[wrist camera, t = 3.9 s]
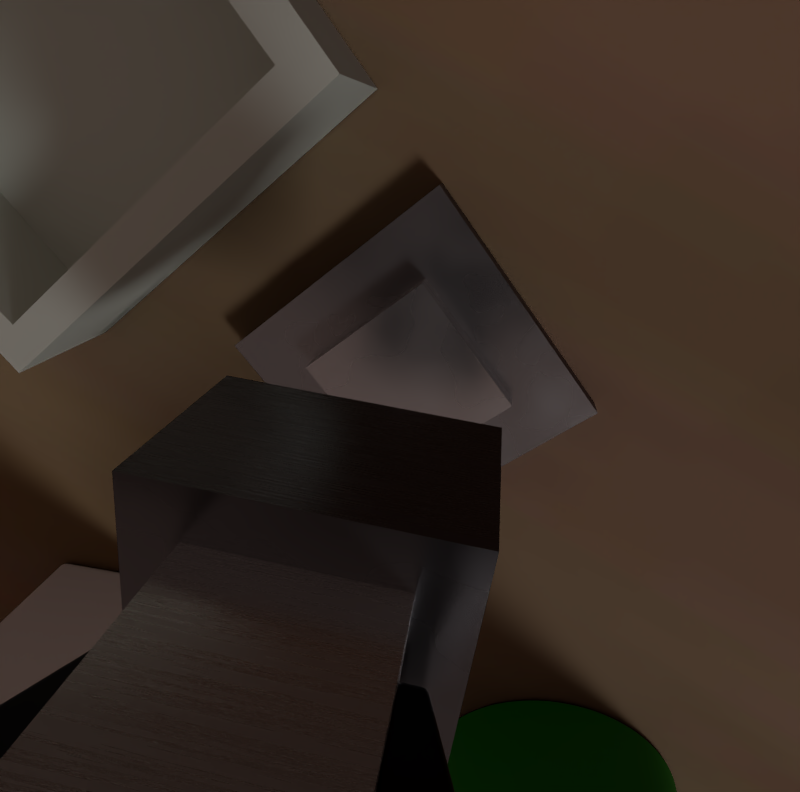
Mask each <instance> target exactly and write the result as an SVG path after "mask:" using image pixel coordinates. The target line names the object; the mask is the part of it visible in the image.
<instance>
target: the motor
mask: <svg viewBox="0 0 800 792" xmlns="http://www.w3.org/2000/svg"><path fill="white" fill-rule="evenodd" d="M448 768H449V772H450V776H451V779H452V783H453V787H454V791H455V792H677V791H676V787H675V783H674V779H673V776H672V774H671V771H670V770H669V768H668V766H667V764H666V762H665V761H664V759H663V758H662V757H661V755H660V754H659V753H658V752H657V751H656V749H655V748H654V747H653V746H652V745H651V744H650V743H649V742H648V741H646V740H645V739H644V738H643V737H642V736H640V735H639V734H638V733H636V732H635V731H633V730H632V729H630V728H629V727H627V726H625V725H624V724H622V723H620V722H618V721H616V720H614V719H612V718H610V717H608V716H606V715H603V714H601V713H598V712H595V711H592V710H589V709H586V708H582V707H579V706H575V705H570V704H565V703H559V702H550V701H513V702H505V703H500V704H495V705H491V706H487V707H484V708H481V709H478V710H475V711H473V712H471V713H469V714H466V715H464V716H463V717H461V718H459V719H458V723H457V727H456V731H455V736H454V740H453V744H452V748H451V752H450V756H449V760H448Z"/></svg>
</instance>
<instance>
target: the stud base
mask: <svg viewBox="0 0 800 792" xmlns="http://www.w3.org/2000/svg"><path fill="white" fill-rule="evenodd" d="M235 347H236V348H237V349H238V350H239V351H240V353H241V354H242V355H243V356H244V357H245V359H246V360H247V361H248V362H249V363H250V365H251V366H252V367H253V368H254V369H255V371H256V372H257V373H258V374H259V375H260V377H261V378H262V379H263V380H264V381H265V383H269V384H274V385H279V386H285V387H290V388H295V389H300V390H306V391H311V392H316V393H322V394H327V395H332V396H337V397H343V398H348V399H353V400H359V401H364V402H369V403H374V404H380V405H385V406H390V407H396V408H401V409H406V410H411V411H417V412H422V413H427V414H433V415H438V416H443V417H449V418H454V419H459V420H464V421H470V422H475V423H480V424H486V425H491V426H496V427H501V428H502V447H501V466H503V465H505V464H507V463H509V462H510V461H512V460H514V459H516V458H517V457H519V456H521V455H523V454H525V453H526V452H528V451H530V450H532V449H534V448H535V447H537V446H539V445H541V444H543V443H544V442H546V441H548V440H550V439H552V438H553V437H555V436H557V435H559V434H561V433H562V432H564V431H566V430H568V429H570V428H571V427H573V426H575V425H577V424H579V423H580V422H582V421H584V420H586V419H588V418H589V417H591V416H593V415H595V414H597V410H596V407H595V404H594V402H593V400H592V399H591V397H590V396H589V394H588V393H587V391H586V390H585V389H584V387H583V386H582V384H581V383H580V381H579V380H578V378H577V377H576V376H575V374H574V373H573V371H572V370H571V368H570V367H569V365H568V364H567V362H566V361H565V360H564V358H563V357H562V355H561V354H560V352H559V351H558V349H557V348H556V347H555V345H554V344H553V342H552V341H551V339H550V338H549V336H548V335H547V334H546V332H545V331H544V329H543V328H542V326H541V325H540V323H539V322H538V320H537V319H536V318H535V316H534V315H533V313H532V312H531V310H530V309H529V307H528V306H527V305H526V303H525V302H524V300H523V299H522V297H521V296H520V294H519V293H518V292H517V290H516V289H515V287H514V286H513V284H512V283H511V281H510V280H509V279H508V277H507V276H506V274H505V273H504V271H503V270H502V268H501V267H500V265H499V264H498V263H497V261H496V260H495V258H494V257H493V255H492V254H491V252H490V251H489V250H488V248H487V247H486V245H485V244H484V242H483V241H482V239H481V238H480V237H479V235H478V234H477V232H476V231H475V229H474V228H473V226H472V225H471V223H470V222H469V221H468V219H467V218H466V216H465V215H464V213H463V212H462V210H461V209H460V208H459V206H458V205H457V203H456V202H455V200H454V199H453V197H452V196H451V195H450V193H449V192H448V190H447V189H446V187H445V186H444V184H443V183H442V184H440V185H439V186H437V187H436V188H435V189H433V190H432V191H431V192H430V193H428V194H427V195H426V196H425V197H423V198H422V199H421V200H419V201H418V202H417V203H416V204H414V205H413V206H412V207H411V208H409V209H408V210H407V211H405V212H404V213H403V214H402V215H400V216H399V217H398V218H397V219H395V220H394V221H393V222H391V223H390V224H389V225H388V226H386V227H385V228H384V229H383V230H381V231H380V232H379V233H377V234H376V235H375V236H374V237H372V238H371V239H370V240H369V241H367V242H366V243H365V244H363V245H362V246H361V247H360V248H358V249H357V250H356V251H355V252H353V253H352V254H351V255H349V256H348V257H347V258H346V259H344V260H343V261H342V262H341V263H339V264H338V265H337V266H335V267H334V268H333V269H332V270H330V271H329V272H328V273H327V274H325V275H324V276H323V277H321V278H320V279H319V280H318V281H316V282H315V283H314V284H313V285H311V286H310V287H309V288H307V289H306V290H305V291H304V292H302V293H301V294H300V295H299V296H297V297H296V298H295V299H293V300H292V301H291V302H290V303H288V304H287V305H286V306H285V307H283V308H282V309H281V310H279V311H278V312H277V313H276V314H274V315H273V316H272V317H271V318H269V319H268V320H267V321H265V322H264V323H263V324H262V325H260V326H259V327H258V328H257V329H255V330H254V331H253V332H251V333H250V334H249V335H248V336H246V337H245V338H244V339H243V340H241V341H240V342H239V343H237V344H236V345H235Z"/></svg>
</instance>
